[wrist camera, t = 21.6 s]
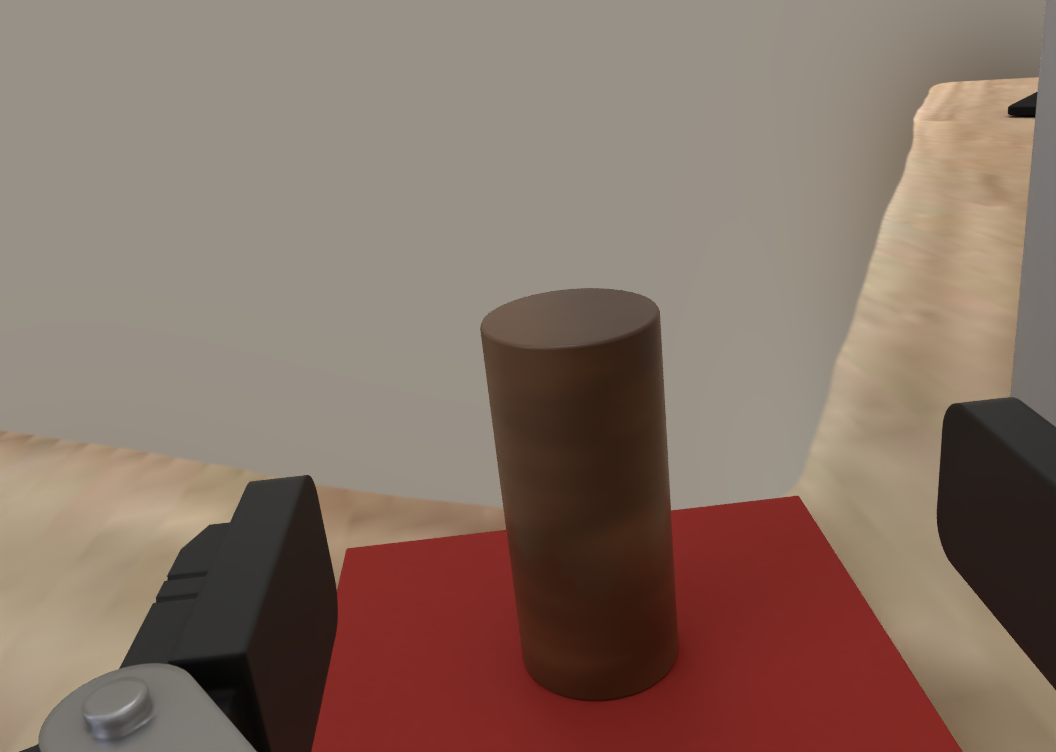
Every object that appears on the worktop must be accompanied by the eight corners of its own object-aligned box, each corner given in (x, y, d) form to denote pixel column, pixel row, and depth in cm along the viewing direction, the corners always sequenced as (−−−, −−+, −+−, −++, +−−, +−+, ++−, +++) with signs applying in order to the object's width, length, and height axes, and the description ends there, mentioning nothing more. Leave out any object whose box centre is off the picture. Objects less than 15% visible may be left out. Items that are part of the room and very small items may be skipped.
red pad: (273, 911, 21) (267, 891, 21) (349, 562, 34) (346, 548, 34) (994, 824, 22) (997, 803, 21) (798, 509, 35) (798, 495, 34)
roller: (526, 710, 26) (480, 356, 22) (519, 611, 30) (479, 298, 26) (693, 691, 26) (675, 334, 22) (663, 595, 30) (644, 279, 26)
